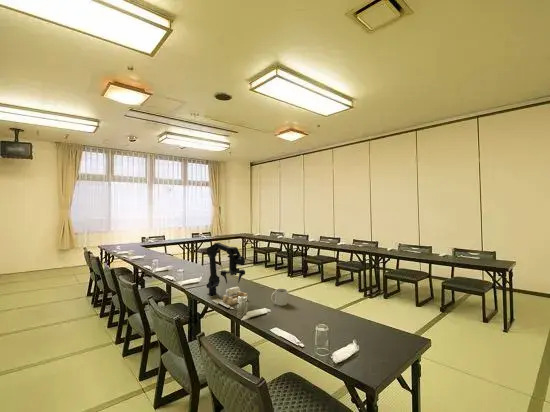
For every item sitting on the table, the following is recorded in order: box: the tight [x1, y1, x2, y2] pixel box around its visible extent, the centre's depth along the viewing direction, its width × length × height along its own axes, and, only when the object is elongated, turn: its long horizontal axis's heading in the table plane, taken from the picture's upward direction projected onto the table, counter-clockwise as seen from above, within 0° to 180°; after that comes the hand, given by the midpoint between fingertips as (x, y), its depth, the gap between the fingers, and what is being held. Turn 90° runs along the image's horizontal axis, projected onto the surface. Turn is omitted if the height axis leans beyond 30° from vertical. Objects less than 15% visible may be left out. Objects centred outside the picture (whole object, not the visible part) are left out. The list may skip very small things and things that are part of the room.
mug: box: [270, 288, 288, 307], centre depth 207 cm, size 11×10×10 cm
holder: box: [222, 290, 248, 306], centre depth 213 cm, size 11×16×5 cm
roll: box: [225, 286, 241, 297], centre depth 225 cm, size 10×6×6 cm, turn 135°
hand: (232, 283), depth 214 cm, fingers open, 9 cm apart
